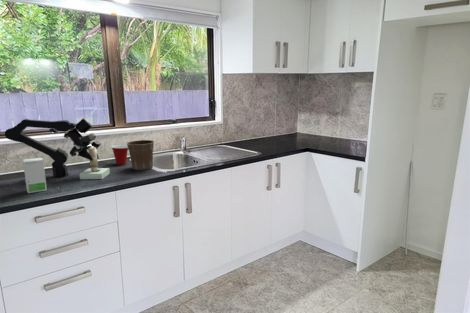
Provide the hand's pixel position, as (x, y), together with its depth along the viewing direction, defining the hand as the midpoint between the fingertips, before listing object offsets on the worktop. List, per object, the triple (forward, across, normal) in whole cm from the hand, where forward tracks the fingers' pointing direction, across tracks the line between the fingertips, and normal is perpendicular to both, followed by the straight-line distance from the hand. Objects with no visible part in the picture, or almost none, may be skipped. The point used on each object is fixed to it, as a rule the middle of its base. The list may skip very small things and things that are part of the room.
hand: (95, 159), depth 182 cm
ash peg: (+4, 0, +6) cm, 7 cm away
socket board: (+6, 0, +8) cm, 10 cm away
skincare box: (0, -29, +15) cm, 33 cm away
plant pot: (+17, +24, -3) cm, 29 cm away
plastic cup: (+3, +28, +11) cm, 31 cm away
